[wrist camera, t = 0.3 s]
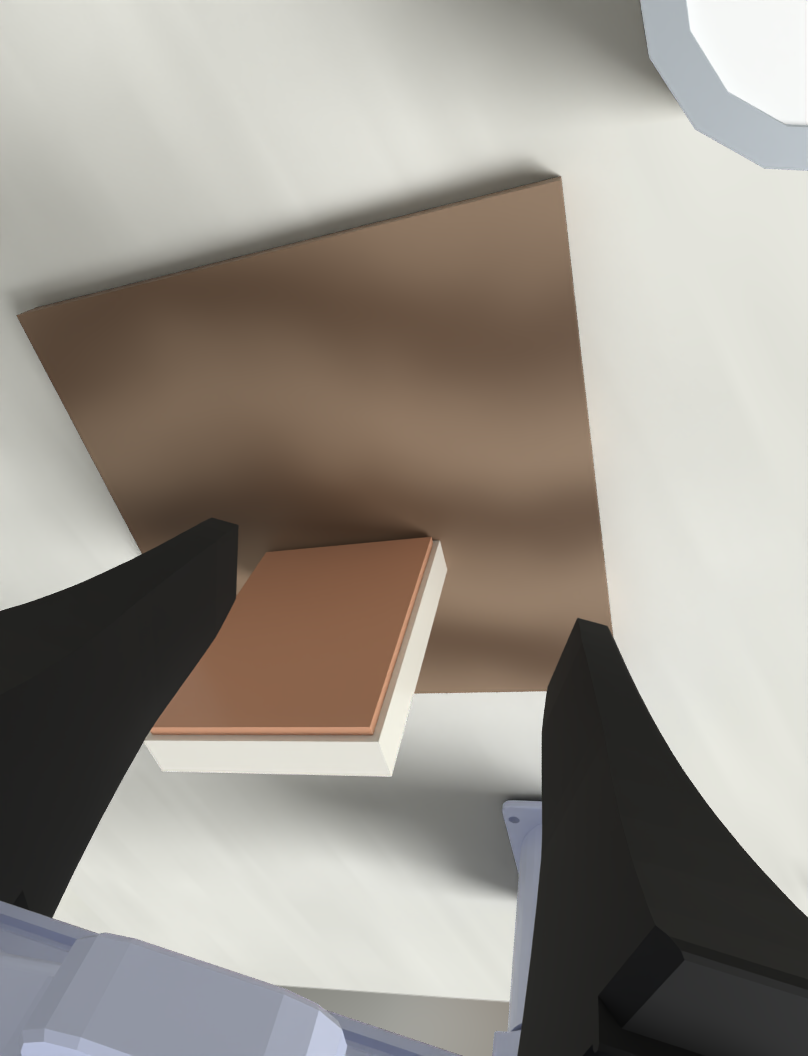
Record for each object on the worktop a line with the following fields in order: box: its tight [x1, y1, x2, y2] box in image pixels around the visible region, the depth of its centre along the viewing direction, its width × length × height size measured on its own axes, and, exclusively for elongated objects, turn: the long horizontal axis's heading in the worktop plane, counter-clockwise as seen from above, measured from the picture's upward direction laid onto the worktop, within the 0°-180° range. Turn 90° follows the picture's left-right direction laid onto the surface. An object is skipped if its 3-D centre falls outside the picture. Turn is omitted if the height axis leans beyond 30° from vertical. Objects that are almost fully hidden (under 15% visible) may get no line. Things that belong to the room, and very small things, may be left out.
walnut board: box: [16, 176, 613, 693], centre depth 24 cm, size 18×18×1 cm
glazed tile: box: [144, 537, 447, 777], centre depth 21 cm, size 2×7×9 cm, turn 104°
